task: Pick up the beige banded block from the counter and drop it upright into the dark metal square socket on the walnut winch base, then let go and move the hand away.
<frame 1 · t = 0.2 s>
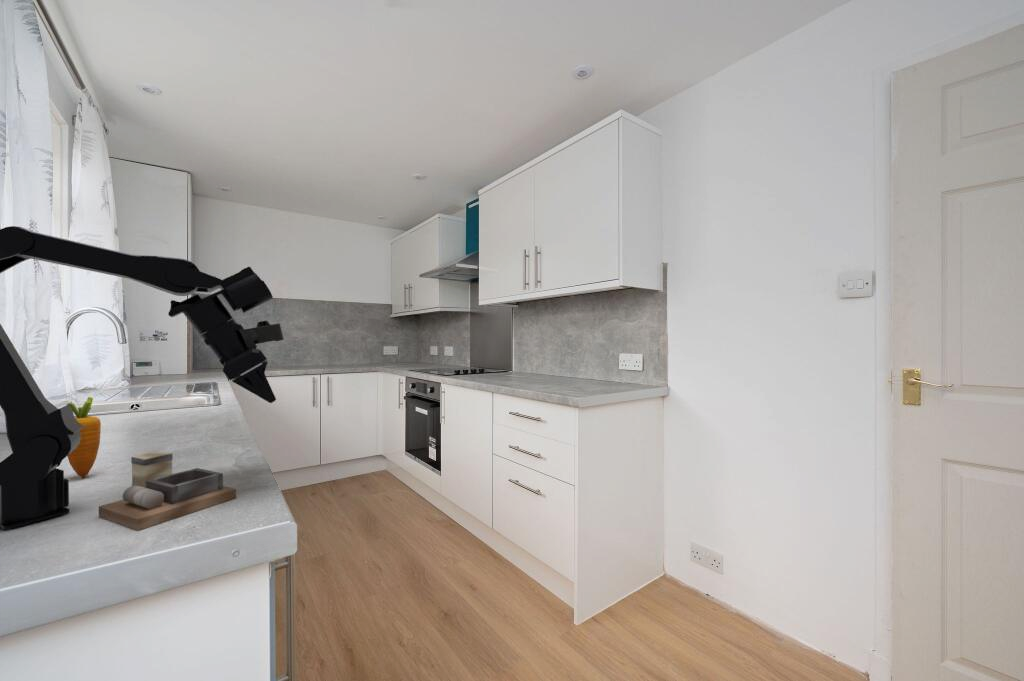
hand: (271, 398, 80), 15 cm above the countertop, tool tilted 30°, fingers open, 9 cm apart
winch base: (171, 506, 66), on the countertop
carrot: (83, 478, 81), on the countertop
beige banded block: (152, 489, 74), on the countertop
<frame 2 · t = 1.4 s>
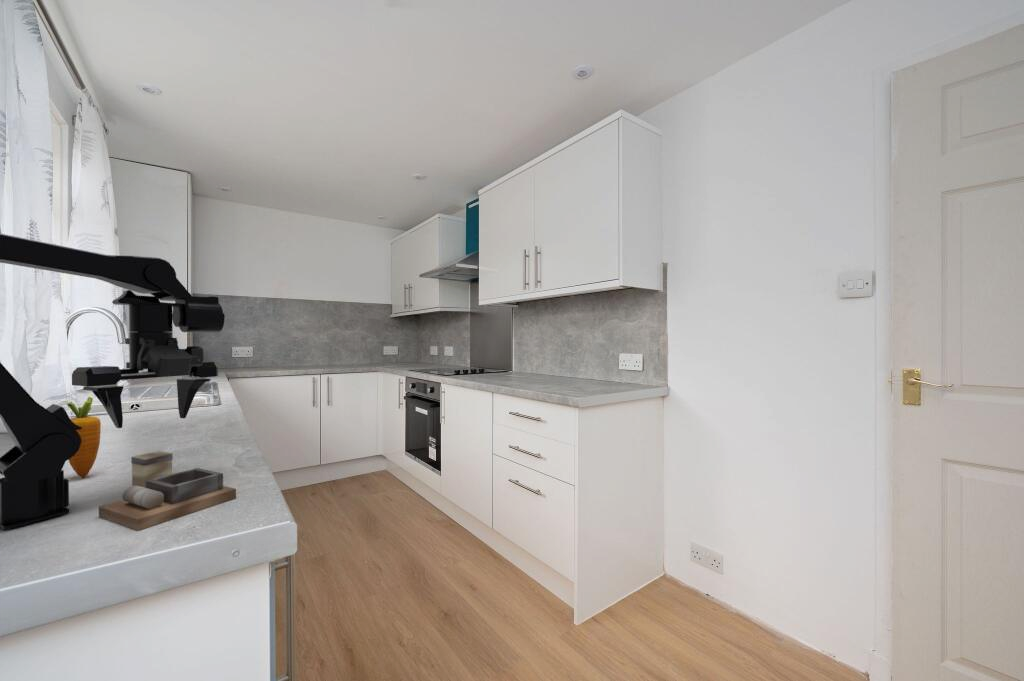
hand: (152, 422, 74), 11 cm above the countertop, tool pointing down, fingers open, 9 cm apart
nothing on the countertop moved.
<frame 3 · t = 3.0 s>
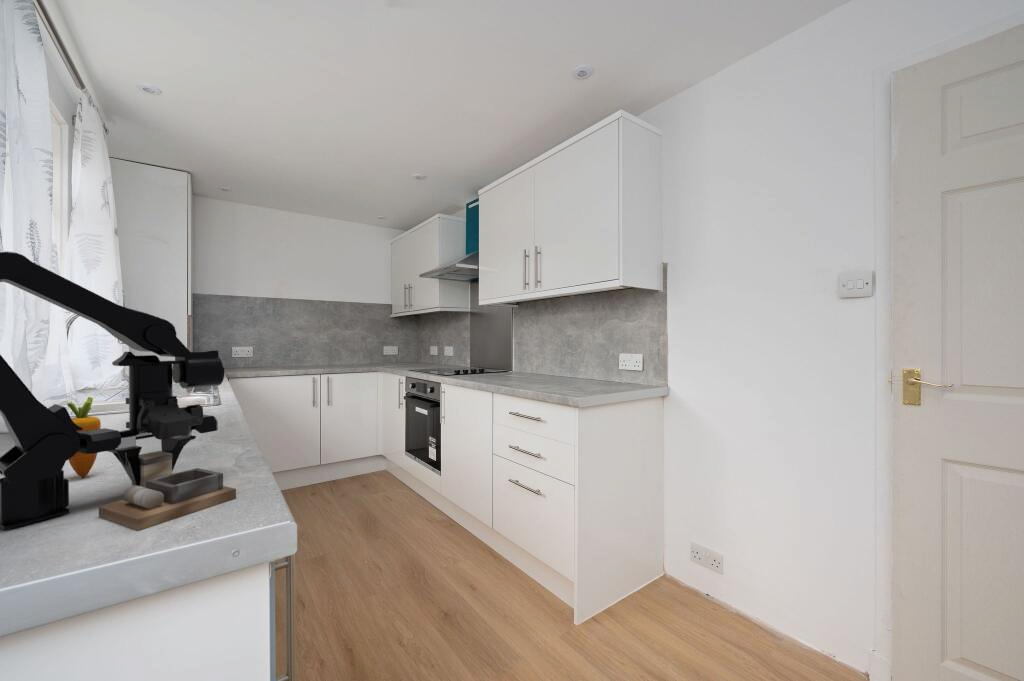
hand: (152, 481, 74), 1 cm above the countertop, tool pointing down, fingers closed on beige banded block, 4 cm apart
beige banded block: (152, 489, 74), on the countertop, touching gripper
everything else where it was.
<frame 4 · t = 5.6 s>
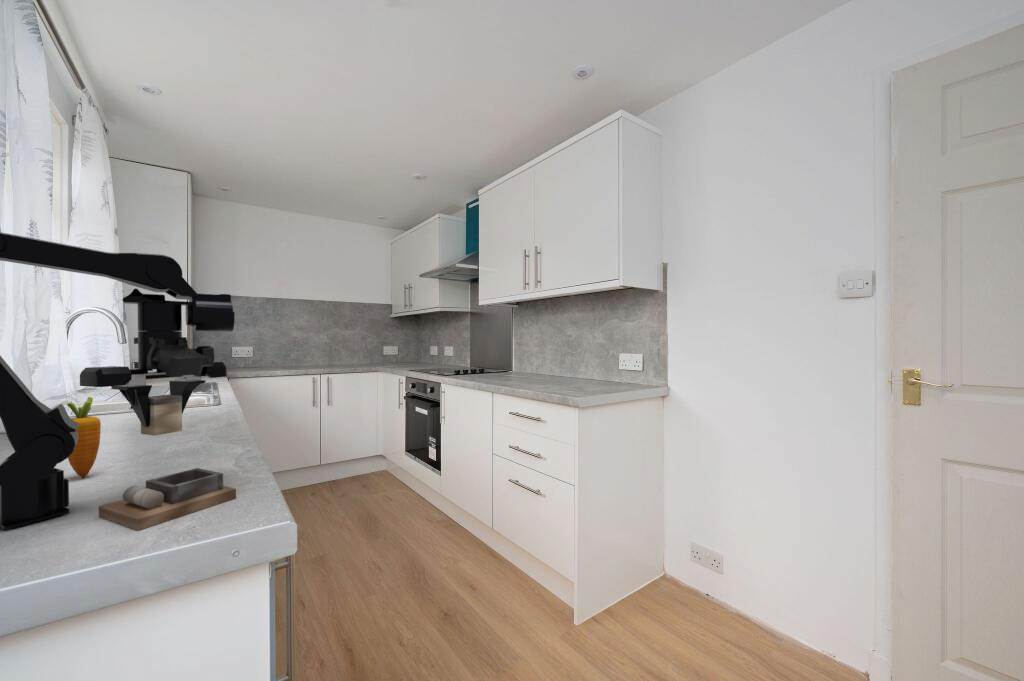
hand: (161, 424, 72), 12 cm above the countertop, tool pointing down, fingers closed on beige banded block, 4 cm apart
beige banded block: (161, 432, 72), point 10 cm above the countertop, touching gripper
everything else where it was.
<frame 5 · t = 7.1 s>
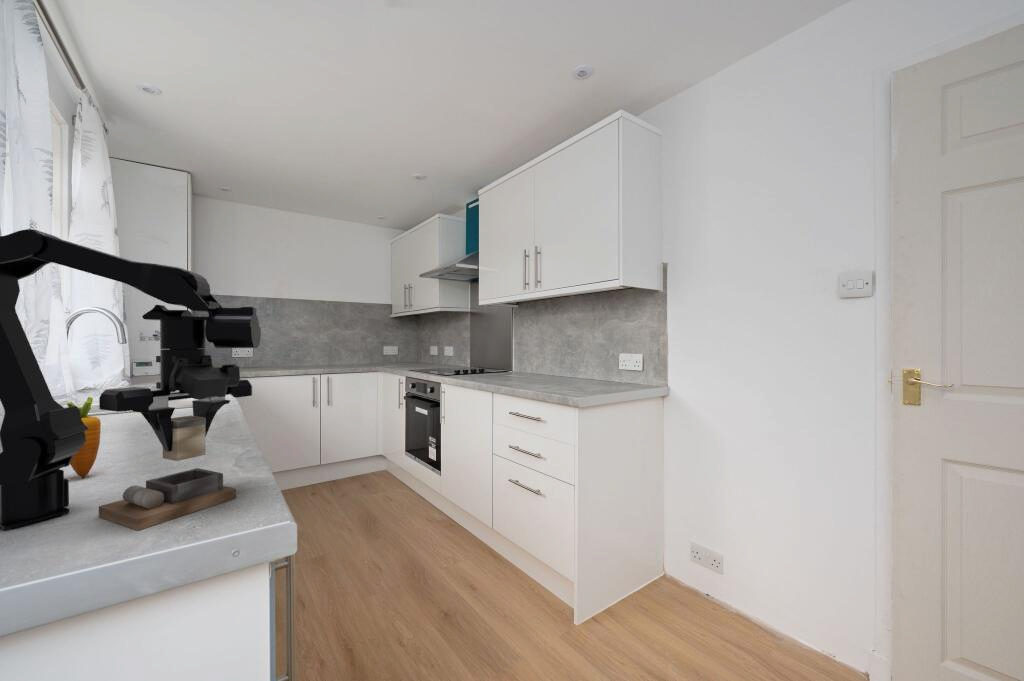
hand: (184, 448, 68), 9 cm above the countertop, tool pointing down, fingers closed on beige banded block, 4 cm apart
beige banded block: (184, 456, 68), point 7 cm above the countertop, touching gripper
everything else where it was.
when the fingers open (5 cm above the countertop, at t = 8.2 s): beige banded block drops 2 cm, resting on winch base.
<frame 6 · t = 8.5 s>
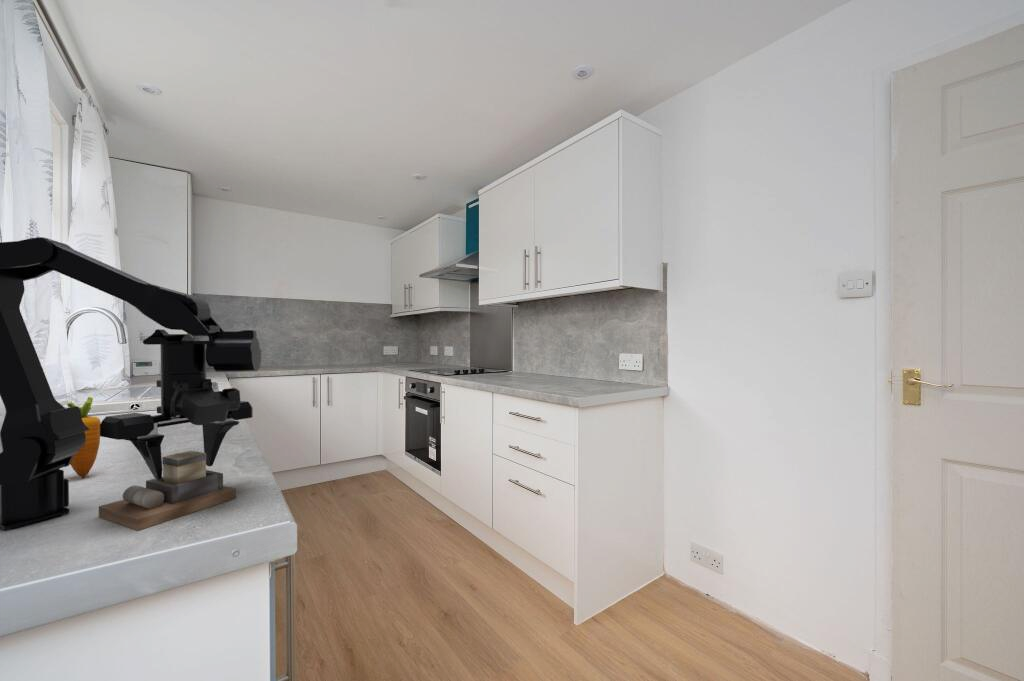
hand: (185, 472, 68), 5 cm above the countertop, tool pointing down, fingers open, 7 cm apart
beige banded block: (185, 492, 68), point 1 cm above the countertop, touching winch base
everything else where it was.
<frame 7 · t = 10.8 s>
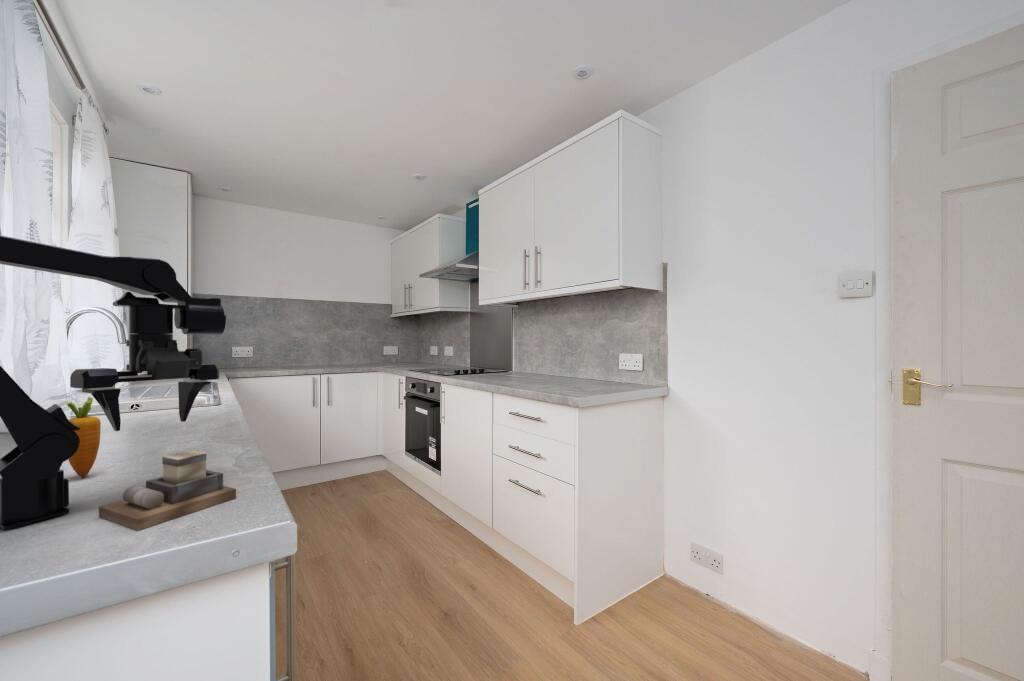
hand: (151, 425, 73), 11 cm above the countertop, tool pointing down, fingers open, 9 cm apart
nothing on the countertop moved.
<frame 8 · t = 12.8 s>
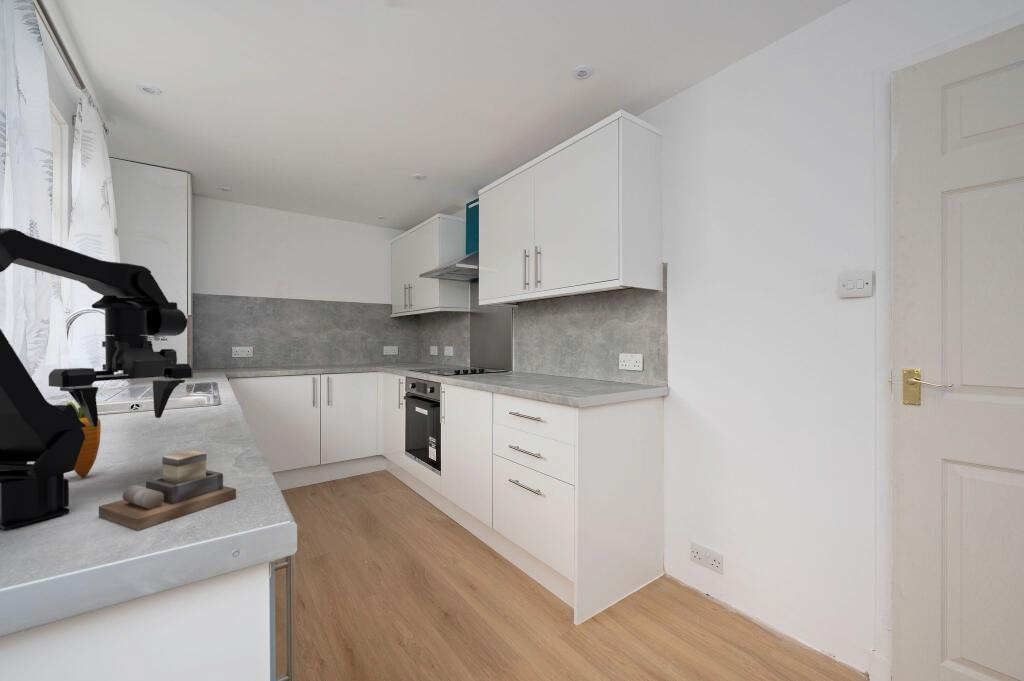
hand: (128, 422, 77), 11 cm above the countertop, tool pointing down, fingers open, 9 cm apart
nothing on the countertop moved.
at the end: beige banded block 0.1 cm from the target spot on the winch base, point 1.5 cm above the winch base's base; beige banded block tilted 0°; the gripper is holding nothing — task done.
